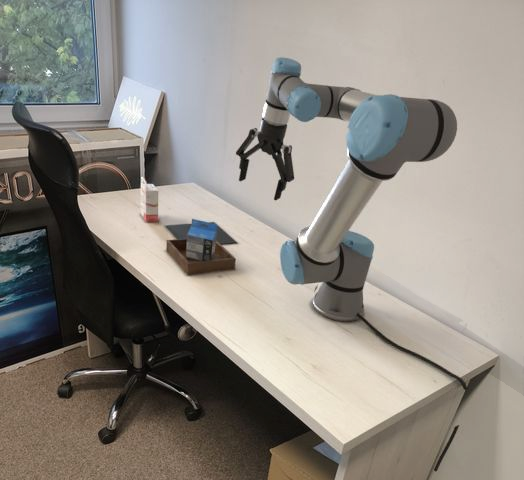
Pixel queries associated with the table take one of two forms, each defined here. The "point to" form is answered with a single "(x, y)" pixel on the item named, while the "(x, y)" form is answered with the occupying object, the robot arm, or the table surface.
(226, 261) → the wooden tray
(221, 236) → the mat
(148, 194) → the ink cartridge box
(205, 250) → the blue gray retail box
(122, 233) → the table surface
